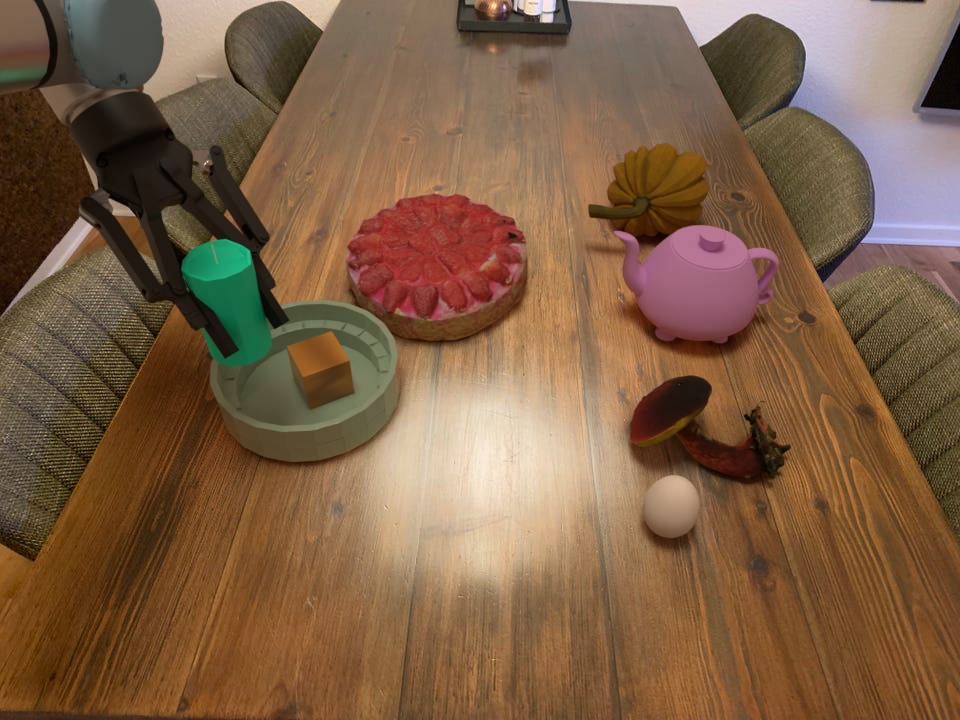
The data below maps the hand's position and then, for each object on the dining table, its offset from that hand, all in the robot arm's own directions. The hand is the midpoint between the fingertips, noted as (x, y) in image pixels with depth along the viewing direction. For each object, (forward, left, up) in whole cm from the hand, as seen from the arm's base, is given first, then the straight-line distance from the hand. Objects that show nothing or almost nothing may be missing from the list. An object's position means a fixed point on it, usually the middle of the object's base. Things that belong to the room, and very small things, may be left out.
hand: (257, 339), depth 66 cm
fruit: (+62, +16, -17) cm, 67 cm away
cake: (+28, +19, -17) cm, 38 cm away
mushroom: (+41, -21, -18) cm, 50 cm away
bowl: (+5, +7, -17) cm, 19 cm away
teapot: (+53, -3, -17) cm, 56 cm away
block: (+7, +7, -16) cm, 19 cm away
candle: (-1, +4, -3) cm, 5 cm away
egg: (+30, -27, -18) cm, 44 cm away
